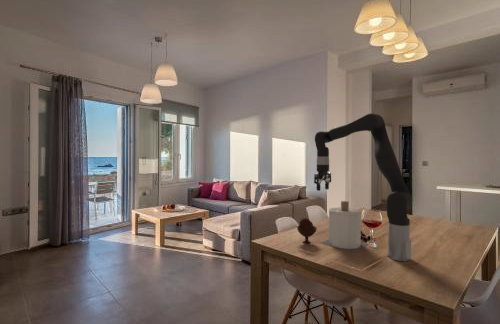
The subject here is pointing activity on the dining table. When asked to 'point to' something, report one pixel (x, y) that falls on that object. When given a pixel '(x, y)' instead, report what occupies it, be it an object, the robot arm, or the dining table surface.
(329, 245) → the mat
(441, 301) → the dining table surface
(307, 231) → the ice cream bowl
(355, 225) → the white cylindrical cover
